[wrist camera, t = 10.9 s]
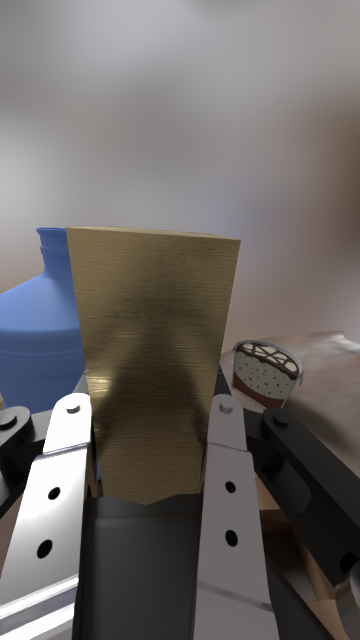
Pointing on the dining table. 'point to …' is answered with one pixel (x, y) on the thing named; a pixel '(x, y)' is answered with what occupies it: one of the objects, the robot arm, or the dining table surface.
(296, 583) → the dining table surface
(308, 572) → the socket block
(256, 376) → the food container
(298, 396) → the dining table surface
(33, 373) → the water jug
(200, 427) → the tan wooden peg
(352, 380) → the dining table surface
